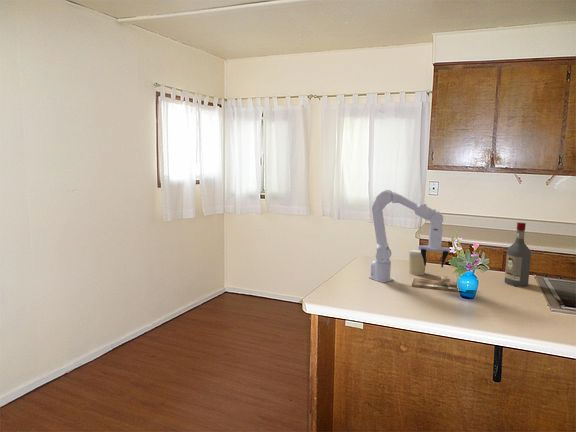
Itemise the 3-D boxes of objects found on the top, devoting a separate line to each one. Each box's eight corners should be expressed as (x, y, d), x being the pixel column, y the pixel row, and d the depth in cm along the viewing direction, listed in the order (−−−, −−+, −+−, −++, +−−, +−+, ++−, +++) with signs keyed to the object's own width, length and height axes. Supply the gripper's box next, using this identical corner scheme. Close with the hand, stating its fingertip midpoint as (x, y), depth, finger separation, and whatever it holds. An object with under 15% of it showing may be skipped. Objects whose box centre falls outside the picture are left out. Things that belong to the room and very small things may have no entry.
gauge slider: (440, 286, 202) (440, 280, 202) (441, 282, 209) (441, 275, 209) (449, 287, 201) (450, 281, 200) (450, 283, 208) (450, 276, 208)
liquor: (515, 280, 219) (521, 221, 215) (531, 285, 211) (536, 224, 207) (501, 282, 216) (506, 221, 212) (516, 287, 208) (521, 224, 204)
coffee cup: (428, 275, 226) (429, 252, 224) (410, 275, 226) (411, 252, 224) (423, 271, 235) (424, 249, 233) (405, 270, 235) (406, 248, 233)
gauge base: (411, 286, 206) (412, 276, 205) (414, 279, 217) (414, 270, 217) (466, 292, 198) (467, 282, 197) (466, 285, 209) (466, 275, 208)
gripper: (418, 237, 204) (416, 266, 206) (451, 240, 199) (449, 269, 201) (419, 235, 211) (418, 263, 213) (451, 237, 206) (450, 266, 208)
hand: (433, 266), depth 207 cm, fingers open, 7 cm apart
